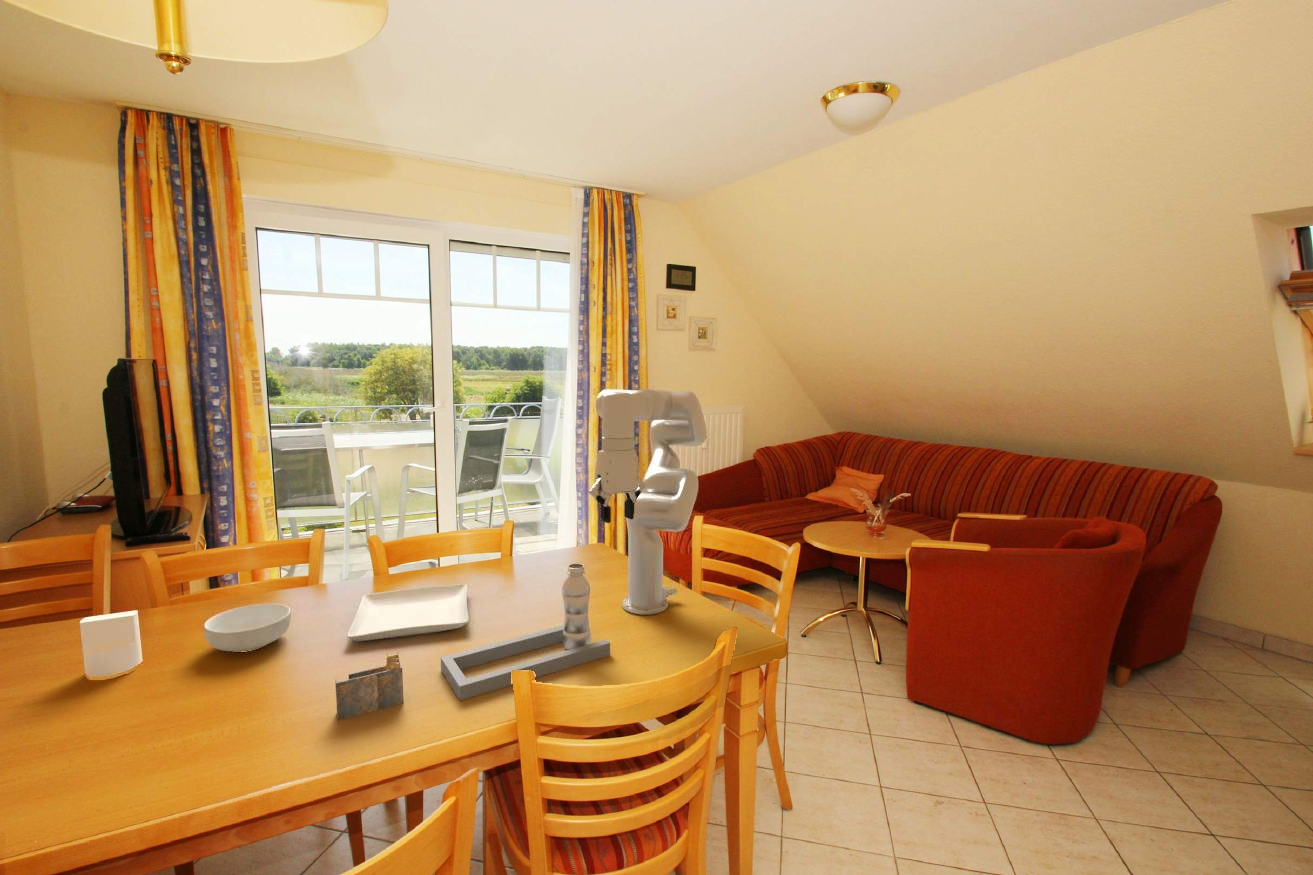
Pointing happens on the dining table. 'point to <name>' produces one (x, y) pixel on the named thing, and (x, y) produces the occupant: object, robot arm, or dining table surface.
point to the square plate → (410, 612)
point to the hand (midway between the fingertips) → (617, 519)
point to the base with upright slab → (110, 643)
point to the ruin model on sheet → (370, 689)
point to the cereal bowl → (247, 627)
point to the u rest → (502, 677)
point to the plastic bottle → (576, 608)
